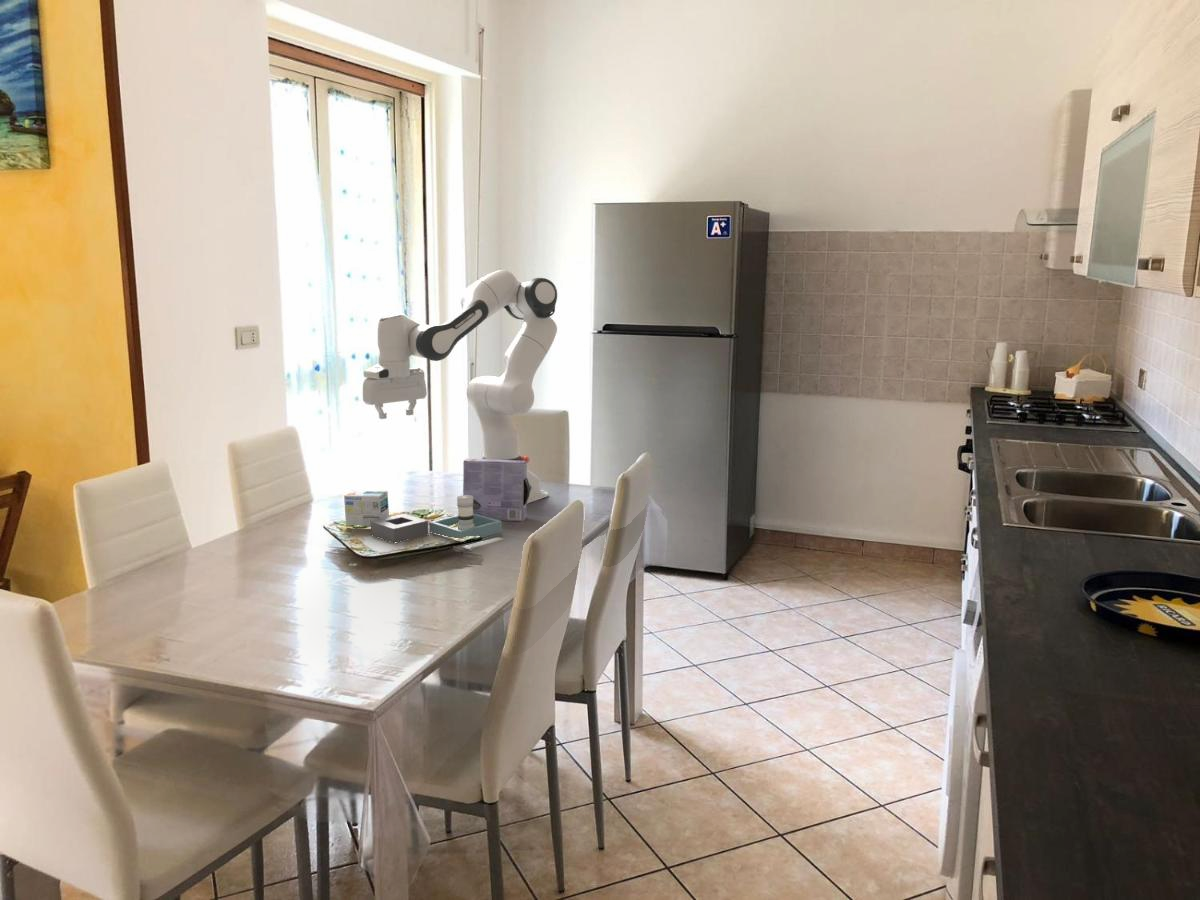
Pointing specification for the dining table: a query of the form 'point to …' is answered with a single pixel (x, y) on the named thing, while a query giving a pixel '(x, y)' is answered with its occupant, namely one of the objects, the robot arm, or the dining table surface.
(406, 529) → the bulb socket block
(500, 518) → the cake pan box
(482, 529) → the parts tray
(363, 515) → the light bulb box
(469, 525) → the white light bulb
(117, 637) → the dining table surface
